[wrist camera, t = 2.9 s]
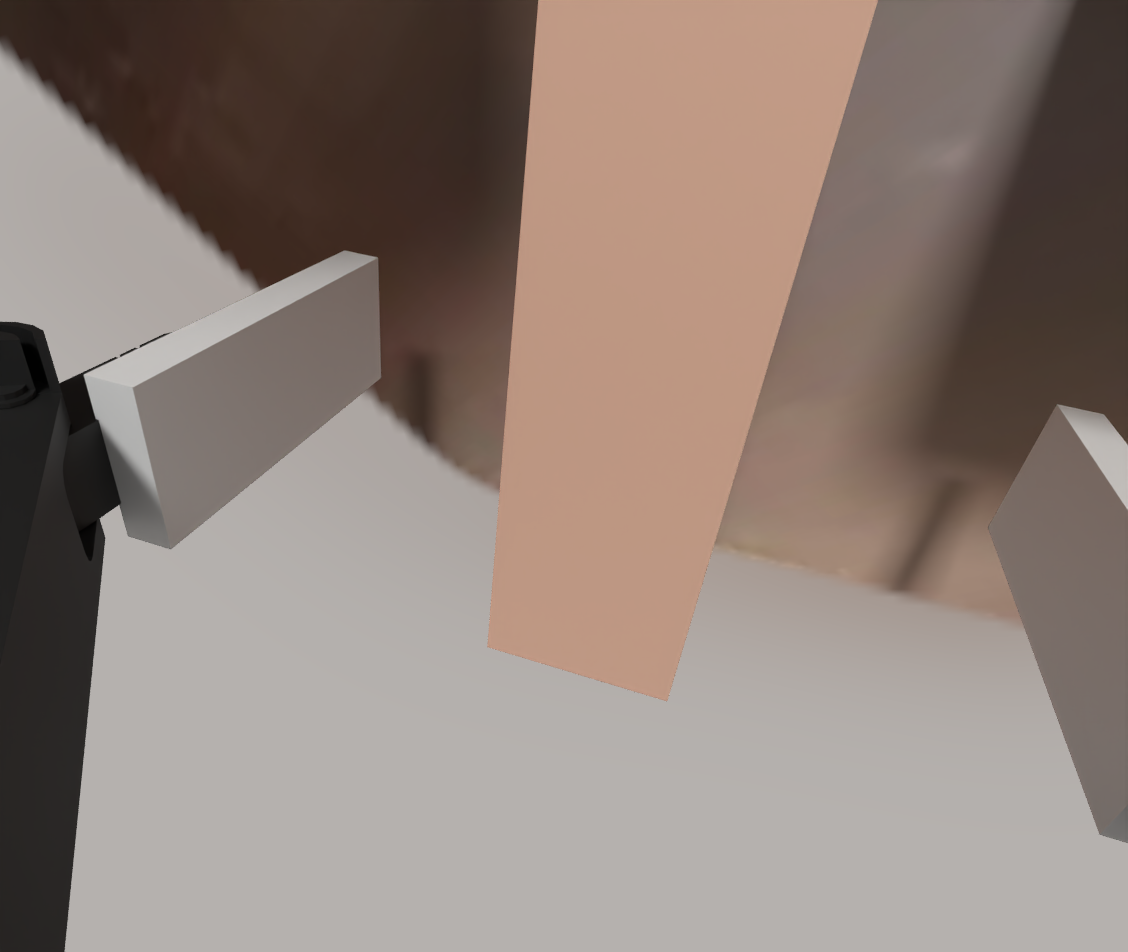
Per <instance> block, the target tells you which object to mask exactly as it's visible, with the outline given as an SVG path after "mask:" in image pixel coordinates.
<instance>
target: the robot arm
mask: <svg viewBox="0 0 1128 952" xmlns="http://www.w3.org/2000/svg"><path fill="white" fill-rule="evenodd" d="M380 378H381V354H380V313H379V273H378V257H373V256H368V255H364V254H359V253H354V252H350V251H345V250H344V251H342V252H340V253H338V254H336V255H334V256H332V257H330V258H328V259H326V260H323V261H321V262H319V263H317V264H315V265H313V266H311V267H309V268H307V269H304V270H302V271H300V272H298V273H296V274H294V275H292V276H290V277H288V278H286V279H283V280H281V281H279V282H277V283H275V284H273V285H271V286H269V287H267V288H265V289H262V290H260V291H258V292H256V293H254V294H252V295H250V296H248V297H246V298H244V299H241V300H239V301H237V302H235V303H233V304H231V305H229V306H227V307H225V308H223V309H220V310H218V311H216V312H214V313H212V314H210V315H208V316H206V317H204V318H201V319H199V320H197V321H195V322H193V323H191V324H189V325H187V326H185V327H183V328H180V329H178V330H176V331H174V332H171V333H167V334H163V335H161V336H159V337H157V338H155V339H153V340H151V341H148V342H146V343H144V344H142V345H140V348H139V349H137V348H134V349H131V350H129V351H127V352H125V353H123V354H121V355H120V357H119V358H116V357H115V358H112V359H110V360H108V361H106V362H104V363H102V364H100V365H98V366H96V367H93V368H91V369H89V370H87V371H85V372H83V373H81V374H78V375H77V376H74V377H72V378H70V379H68V380H66V381H64V382H62V383H59V381H58V378H57V375H56V371H55V368H54V365H53V361H52V358H51V355H50V351H49V348H48V345H47V341H46V338H45V334H44V332H43V330H41V329H39V328H37V327H35V326H33V325H28V324H23V323H18V322H0V952H64V950H65V940H66V929H67V920H68V910H69V900H70V889H71V879H72V869H73V858H74V849H75V839H76V828H77V818H78V809H79V808H78V807H79V798H80V788H81V778H82V768H83V757H84V747H85V737H86V727H87V717H88V706H89V696H90V687H91V677H92V667H93V656H94V646H95V635H96V625H97V616H98V606H99V596H100V585H101V575H102V565H103V555H104V545H105V535H104V532H103V529H102V525H101V522H100V519H99V518H101V517H102V516H104V515H105V514H106V513H108V512H109V511H111V510H112V509H114V508H115V507H116V506H118V505H120V509H121V512H122V516H123V520H124V523H125V527H126V530H127V534H128V536H129V537H133V538H136V539H139V540H143V541H146V542H149V543H153V544H155V545H159V546H162V547H165V548H169V549H172V548H173V547H174V546H175V545H177V544H178V543H179V542H180V541H181V540H183V539H184V538H185V537H186V536H188V535H189V534H190V533H191V532H193V531H194V530H195V529H196V528H197V527H198V526H200V525H201V524H202V523H203V522H205V521H206V520H207V519H209V518H210V517H211V516H212V515H213V514H215V513H216V512H217V511H218V510H220V509H221V508H222V507H223V506H225V505H226V504H227V503H228V502H229V501H230V500H232V499H233V498H234V497H235V496H237V495H238V494H239V493H240V492H242V491H243V490H244V489H245V488H247V487H248V486H249V485H250V484H252V483H253V482H254V481H255V480H256V479H258V478H259V477H260V476H261V475H263V474H264V473H265V472H266V471H267V470H269V469H270V468H271V467H272V466H274V465H275V464H276V463H277V462H278V461H280V460H281V459H282V458H283V457H285V456H286V455H287V454H288V453H289V452H291V451H292V450H293V449H294V448H296V447H297V446H298V445H299V444H301V443H302V442H303V441H304V440H305V439H307V438H308V437H309V436H310V435H311V434H313V433H314V432H315V431H317V430H318V429H319V428H320V427H321V426H323V425H324V424H325V423H326V422H328V421H329V420H330V419H331V418H332V417H334V416H335V415H336V414H337V413H339V412H340V411H341V410H342V409H343V408H345V407H346V406H347V405H348V404H350V403H351V402H352V401H353V400H354V399H356V398H357V397H358V396H359V395H361V394H362V393H363V392H364V391H366V390H367V389H368V388H369V387H370V386H372V385H373V384H374V383H375V382H377V381H378V380H379V379H380ZM988 529H989V532H990V535H991V537H992V540H993V543H994V546H995V548H996V551H997V554H998V557H999V559H1000V562H1001V565H1002V568H1003V570H1004V573H1005V576H1006V579H1007V581H1008V584H1009V587H1010V590H1011V592H1012V595H1013V598H1014V601H1015V603H1016V606H1017V609H1018V612H1019V614H1020V617H1021V620H1022V623H1023V625H1024V628H1025V631H1026V634H1027V636H1028V639H1029V642H1030V644H1031V647H1032V650H1033V653H1034V655H1035V658H1036V661H1037V663H1038V666H1039V669H1040V672H1041V675H1042V677H1043V680H1044V683H1045V686H1046V688H1047V691H1048V694H1049V697H1050V699H1051V702H1052V705H1053V708H1054V710H1055V713H1056V716H1057V719H1058V721H1059V724H1060V727H1061V729H1062V732H1063V735H1064V738H1065V741H1066V743H1067V746H1068V749H1069V752H1070V754H1071V757H1072V760H1073V763H1074V765H1075V768H1076V771H1077V773H1078V776H1079V779H1080V782H1081V785H1082V787H1083V790H1084V793H1085V796H1086V798H1087V801H1088V804H1089V807H1090V809H1091V812H1092V815H1093V818H1094V820H1095V823H1096V826H1097V829H1098V831H1099V834H1100V835H1103V836H1106V837H1109V838H1113V839H1116V840H1119V841H1122V842H1126V843H1128V445H1127V443H1126V442H1125V441H1124V440H1123V438H1122V437H1121V436H1120V434H1119V433H1118V432H1117V431H1116V429H1115V428H1114V427H1113V425H1112V424H1111V423H1110V422H1109V420H1108V419H1107V418H1106V416H1105V415H1104V414H1100V413H1096V412H1091V411H1086V410H1082V409H1077V408H1072V407H1068V406H1063V405H1059V404H1057V405H1056V407H1055V408H1054V410H1053V412H1052V414H1051V416H1050V417H1049V419H1048V421H1047V423H1046V425H1045V426H1044V428H1043V430H1042V432H1041V433H1040V435H1039V437H1038V439H1037V441H1036V442H1035V444H1034V446H1033V448H1032V450H1031V451H1030V453H1029V455H1028V457H1027V459H1026V460H1025V462H1024V464H1023V466H1022V467H1021V469H1020V471H1019V473H1018V475H1017V476H1016V478H1015V480H1014V482H1013V484H1012V485H1011V487H1010V489H1009V491H1008V492H1007V494H1006V496H1005V498H1004V500H1003V501H1002V503H1001V505H1000V507H999V509H998V510H997V512H996V514H995V516H994V517H993V519H992V521H991V523H990V525H989V526H988Z"/></svg>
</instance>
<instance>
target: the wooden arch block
mask: <svg viewBox="0 0 1128 952" xmlns="http://www.w3.org/2000/svg"><path fill="white" fill-rule="evenodd" d="M877 2H878V0H538V12H537V24H536V37H535V50H534V62H533V75H532V88H531V101H530V113H529V126H528V139H527V151H526V164H525V177H524V189H523V202H522V215H521V228H520V240H519V253H518V266H517V278H516V291H515V304H514V316H513V329H512V342H511V355H510V367H509V380H508V393H507V405H506V418H505V431H504V443H503V456H502V469H501V482H500V494H499V507H498V520H497V533H496V546H495V558H494V571H493V583H492V597H491V609H490V623H489V634H488V647H489V648H492V649H496V650H499V651H503V652H505V653H509V654H512V655H515V656H519V657H522V658H525V659H529V660H532V661H535V662H539V663H542V664H545V665H549V666H552V667H555V668H559V669H562V670H565V671H568V672H572V673H575V674H578V675H582V676H585V677H588V678H592V679H595V680H598V681H601V682H605V683H609V684H611V685H615V686H618V687H622V688H625V689H628V690H631V691H635V692H638V693H642V694H645V695H648V696H651V697H655V698H658V699H661V700H664V701H667V700H668V696H669V693H670V689H671V687H672V683H673V680H674V676H675V673H676V670H677V666H678V663H679V660H680V657H681V653H682V650H683V647H684V643H685V640H686V636H687V633H688V630H689V626H690V623H691V620H692V617H693V613H694V610H695V607H696V603H697V600H698V597H699V593H700V590H701V587H702V584H703V580H704V577H705V573H706V570H707V567H708V563H709V560H710V557H711V554H712V550H713V547H714V544H715V540H716V537H717V534H718V530H719V527H720V524H721V520H722V517H723V514H724V510H725V507H726V504H727V500H728V497H729V494H730V490H731V487H732V484H733V481H734V477H735V474H736V471H737V467H738V464H739V461H740V457H741V454H742V451H743V447H744V444H745V441H746V437H747V434H748V431H749V427H750V424H751V421H752V417H753V414H754V411H755V407H756V404H757V401H758V397H759V394H760V391H761V387H762V384H763V381H764V377H765V374H766V371H767V368H768V364H769V361H770V358H771V354H772V351H773V348H774V344H775V341H776V338H777V334H778V331H779V328H780V324H781V321H782V318H783V314H784V311H785V308H786V304H787V301H788V298H789V294H790V291H791V288H792V284H793V281H794V278H795V274H796V271H797V268H798V264H799V261H800V258H801V255H802V251H803V248H804V245H805V241H806V238H807V235H808V231H809V228H810V225H811V221H812V218H813V215H814V211H815V208H816V205H817V201H818V198H819V195H820V191H821V188H822V185H823V181H824V178H825V175H826V171H827V168H828V165H829V161H830V158H831V155H832V151H833V148H834V145H835V142H836V138H837V135H838V132H839V128H840V125H841V122H842V118H843V115H844V112H845V108H846V105H847V102H848V98H849V95H850V92H851V88H852V85H853V82H854V78H855V75H856V72H857V68H858V65H859V62H860V58H861V55H862V52H863V48H864V45H865V42H866V39H867V35H868V32H869V29H870V25H871V22H872V19H873V15H874V12H875V9H876V5H877Z"/></svg>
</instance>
